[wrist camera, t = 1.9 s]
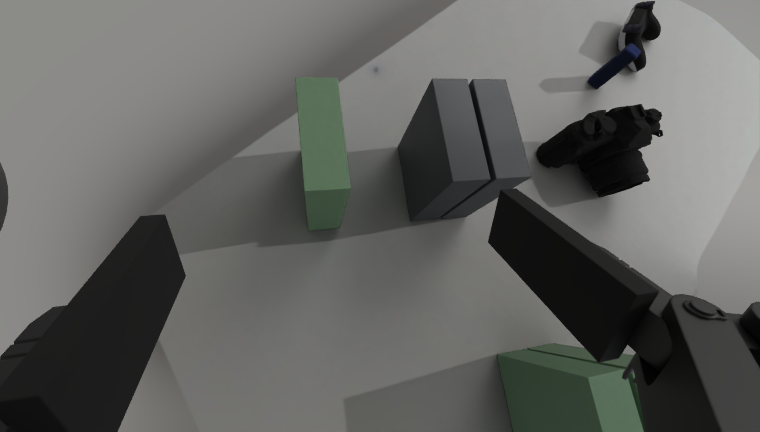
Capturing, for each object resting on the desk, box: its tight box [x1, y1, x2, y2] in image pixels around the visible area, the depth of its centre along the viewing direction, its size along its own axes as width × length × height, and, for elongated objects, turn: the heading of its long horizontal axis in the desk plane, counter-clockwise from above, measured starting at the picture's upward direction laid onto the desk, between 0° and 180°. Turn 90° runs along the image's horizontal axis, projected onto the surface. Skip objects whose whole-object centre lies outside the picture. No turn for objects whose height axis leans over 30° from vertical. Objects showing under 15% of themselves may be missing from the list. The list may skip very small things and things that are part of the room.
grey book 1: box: [398, 79, 490, 221], centre depth 34 cm, size 4×10×13 cm, turn 8°
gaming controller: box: [617, 1, 661, 72], centre depth 53 cm, size 11×4×7 cm
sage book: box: [295, 77, 351, 231], centre depth 32 cm, size 4×10×13 cm, turn 8°
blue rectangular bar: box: [588, 43, 641, 89], centre depth 48 cm, size 2×2×7 cm
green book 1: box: [497, 349, 644, 432], centre depth 30 cm, size 4×10×13 cm, turn 8°
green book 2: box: [528, 343, 646, 432], centre depth 30 cm, size 4×10×13 cm, turn 8°
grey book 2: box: [441, 79, 531, 219], centre depth 35 cm, size 4×10×13 cm, turn 8°
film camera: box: [537, 104, 663, 197], centre depth 42 cm, size 15×10×9 cm, turn 105°
